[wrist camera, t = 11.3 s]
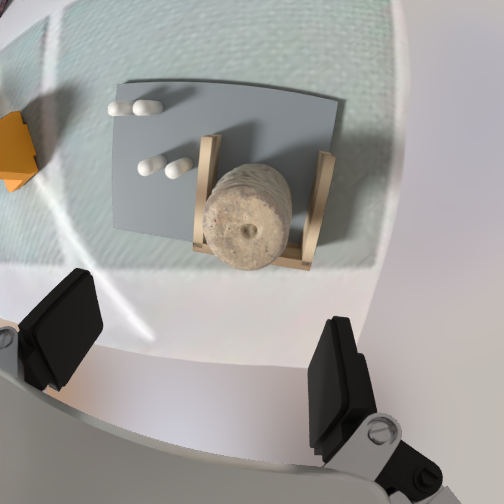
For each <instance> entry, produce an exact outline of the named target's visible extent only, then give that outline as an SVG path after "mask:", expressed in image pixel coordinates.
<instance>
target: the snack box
mask: <svg viewBox="0 0 504 504" xmlns="http://www.w3.org/2000/svg"><path fill="white" fill-rule="evenodd" d="M6 2H7V0H0V17H1V14H2V12H3V9H4V7H5V5H6Z"/></svg>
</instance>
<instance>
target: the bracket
mask: <svg viewBox="0 0 504 504" xmlns="http://www.w3.org/2000/svg"><path fill="white" fill-rule="evenodd" d="M35 156H36V152H35V149H34V146H33V143H32V140H31V136H30V133H29V130H28V126H27V124H23V122H22V118H21V114H20V111H15V112H11V113H9V114H8V115H6V116H5V117H3V118H2V119H0V179H4V181H5V184H6V187H7V190H8V191H9V192H13V191H15V190H17V189H20V188H21V187H22V186H23V185H24V184H25V183H26V182H27V181H28V180H29V179H30V178H31V177H32V176H33V175H34V174H35V173H37V172H38V168H37V165H36V163H35V160H34V157H35Z"/></svg>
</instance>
